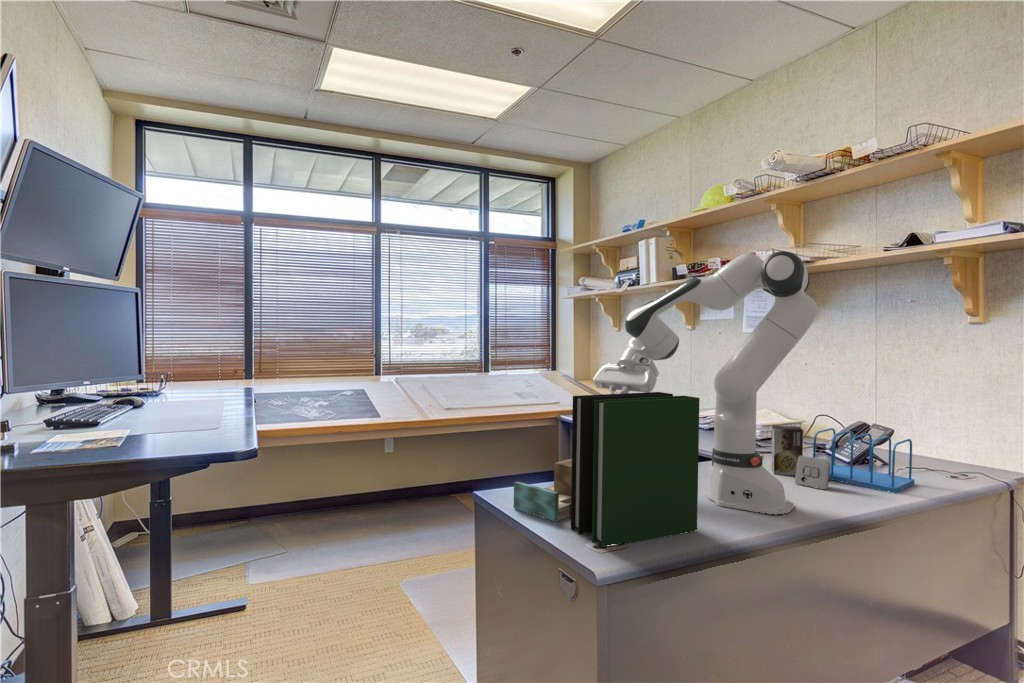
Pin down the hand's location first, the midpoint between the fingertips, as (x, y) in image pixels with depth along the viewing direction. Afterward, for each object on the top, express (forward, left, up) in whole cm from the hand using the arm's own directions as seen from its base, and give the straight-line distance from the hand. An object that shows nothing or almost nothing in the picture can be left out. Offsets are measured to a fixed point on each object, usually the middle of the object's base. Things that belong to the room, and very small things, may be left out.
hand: (614, 398), depth 166 cm
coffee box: (-32, -59, -28) cm, 73 cm away
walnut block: (0, +21, -24) cm, 32 cm away
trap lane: (0, +27, -27) cm, 38 cm away
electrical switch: (-43, -48, -28) cm, 70 cm away
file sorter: (-52, -68, -28) cm, 90 cm away
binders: (-23, +27, -28) cm, 45 cm away
